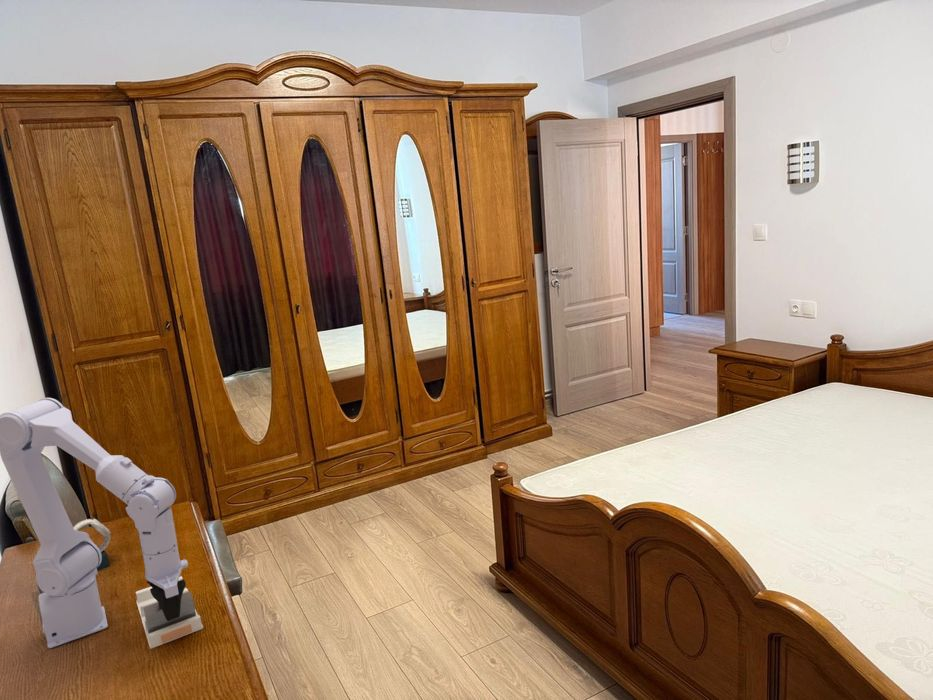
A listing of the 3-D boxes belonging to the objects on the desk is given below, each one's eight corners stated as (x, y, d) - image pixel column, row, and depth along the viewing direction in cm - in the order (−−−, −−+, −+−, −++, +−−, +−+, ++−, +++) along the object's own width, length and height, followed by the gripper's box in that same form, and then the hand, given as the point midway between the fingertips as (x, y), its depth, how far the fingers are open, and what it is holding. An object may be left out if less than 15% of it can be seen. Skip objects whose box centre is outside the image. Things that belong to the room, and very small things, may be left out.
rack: (150, 650, 110) (148, 638, 109) (136, 602, 124) (134, 592, 123) (203, 629, 114) (201, 617, 114) (184, 586, 129) (182, 575, 128)
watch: (119, 562, 140) (110, 517, 137) (79, 578, 134) (69, 532, 132) (111, 554, 144) (102, 510, 141) (71, 569, 138) (62, 524, 136)
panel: (150, 640, 111) (145, 615, 110) (147, 631, 114) (143, 607, 113) (197, 622, 116) (193, 598, 115) (193, 614, 118) (189, 591, 117)
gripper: (191, 555, 108) (203, 624, 111) (176, 524, 119) (186, 587, 122) (147, 570, 104) (160, 640, 107) (135, 537, 116) (147, 601, 118)
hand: (171, 613), depth 114 cm, fingers closed on panel, 3 cm apart
